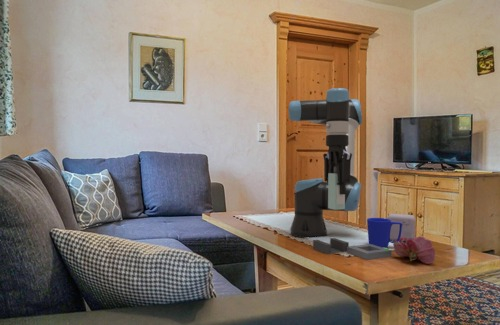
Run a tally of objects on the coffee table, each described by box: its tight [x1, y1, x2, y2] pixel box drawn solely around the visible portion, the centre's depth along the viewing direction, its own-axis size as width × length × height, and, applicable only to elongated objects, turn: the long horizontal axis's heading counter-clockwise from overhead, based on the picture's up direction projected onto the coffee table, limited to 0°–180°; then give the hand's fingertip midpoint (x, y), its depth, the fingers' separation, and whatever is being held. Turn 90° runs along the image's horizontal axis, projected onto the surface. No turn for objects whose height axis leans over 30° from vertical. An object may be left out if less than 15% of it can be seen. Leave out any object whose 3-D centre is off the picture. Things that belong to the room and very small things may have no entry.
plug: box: [328, 166, 345, 211], centre depth 133 cm, size 4×4×14 cm
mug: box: [366, 217, 402, 249], centre depth 142 cm, size 8×12×10 cm
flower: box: [392, 236, 436, 265], centre depth 123 cm, size 11×10×10 cm
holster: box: [312, 237, 350, 255], centre depth 135 cm, size 8×9×4 cm
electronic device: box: [386, 213, 416, 241], centre depth 153 cm, size 10×5×10 cm, turn 63°
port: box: [346, 243, 393, 261], centre depth 129 cm, size 10×10×3 cm
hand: (336, 203), depth 133 cm, fingers closed on plug, 4 cm apart
